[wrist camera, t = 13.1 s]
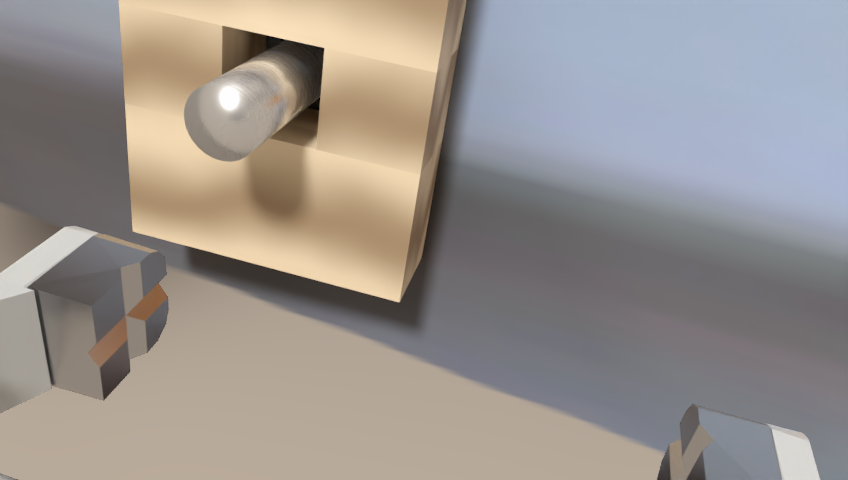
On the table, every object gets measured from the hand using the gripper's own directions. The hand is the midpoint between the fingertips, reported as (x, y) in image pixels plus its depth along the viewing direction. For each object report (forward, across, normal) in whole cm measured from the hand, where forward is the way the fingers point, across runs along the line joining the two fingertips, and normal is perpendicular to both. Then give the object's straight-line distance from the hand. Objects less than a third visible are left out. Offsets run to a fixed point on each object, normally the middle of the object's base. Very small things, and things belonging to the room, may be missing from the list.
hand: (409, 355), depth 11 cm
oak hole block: (+23, +11, +5) cm, 26 cm away
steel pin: (+23, +11, +5) cm, 26 cm away
